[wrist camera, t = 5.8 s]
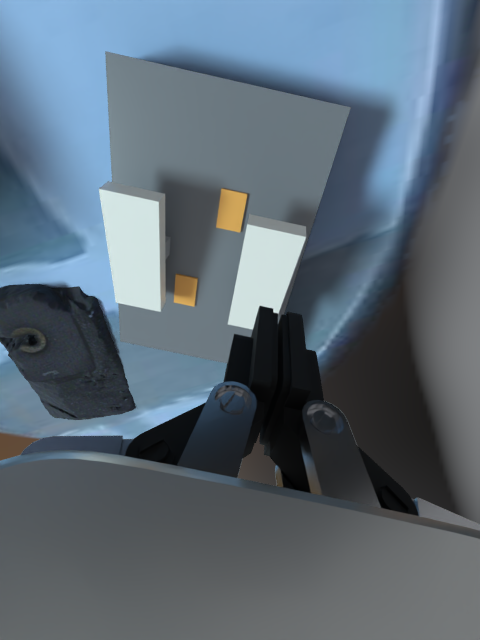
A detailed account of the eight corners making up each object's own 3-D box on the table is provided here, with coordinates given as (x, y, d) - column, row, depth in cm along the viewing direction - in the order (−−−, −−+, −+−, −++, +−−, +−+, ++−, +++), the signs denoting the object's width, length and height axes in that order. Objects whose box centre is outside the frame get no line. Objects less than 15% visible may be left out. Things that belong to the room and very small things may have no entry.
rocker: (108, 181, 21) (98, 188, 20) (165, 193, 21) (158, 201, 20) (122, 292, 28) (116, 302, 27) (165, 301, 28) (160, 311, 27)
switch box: (130, 60, 23) (92, 46, 18) (340, 108, 23) (356, 107, 18) (134, 320, 36) (113, 350, 32) (266, 348, 37) (265, 382, 32)
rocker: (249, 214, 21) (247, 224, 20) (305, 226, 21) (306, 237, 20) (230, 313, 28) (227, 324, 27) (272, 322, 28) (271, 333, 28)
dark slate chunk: (49, 407, 48) (29, 433, 44) (-28, 281, 36) (-65, 302, 32) (142, 410, 46) (129, 437, 43) (94, 279, 34) (70, 301, 30)
